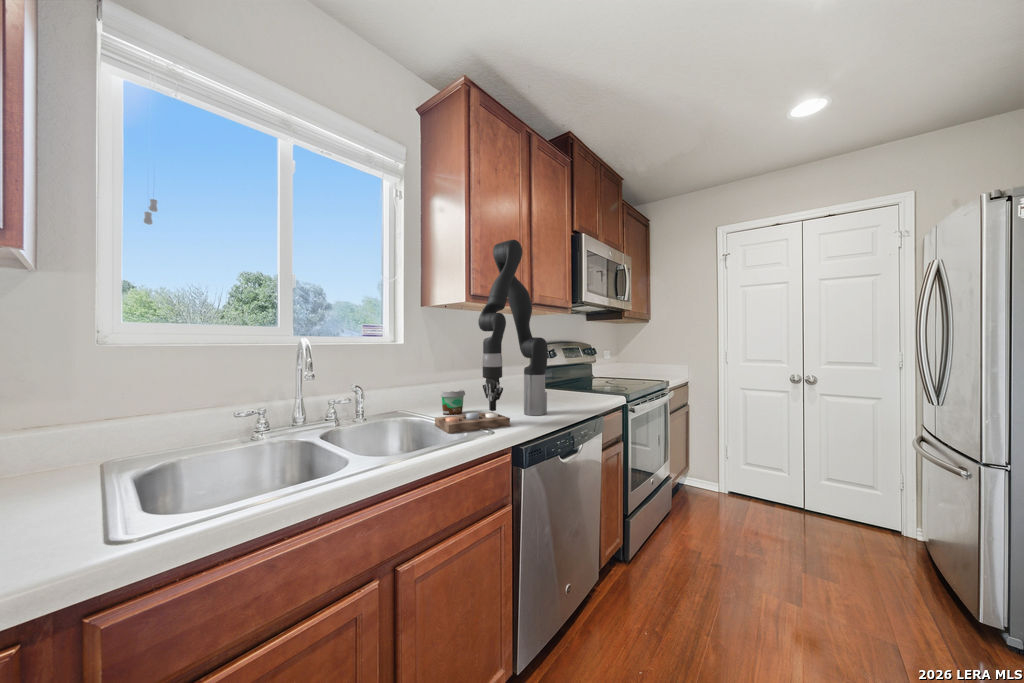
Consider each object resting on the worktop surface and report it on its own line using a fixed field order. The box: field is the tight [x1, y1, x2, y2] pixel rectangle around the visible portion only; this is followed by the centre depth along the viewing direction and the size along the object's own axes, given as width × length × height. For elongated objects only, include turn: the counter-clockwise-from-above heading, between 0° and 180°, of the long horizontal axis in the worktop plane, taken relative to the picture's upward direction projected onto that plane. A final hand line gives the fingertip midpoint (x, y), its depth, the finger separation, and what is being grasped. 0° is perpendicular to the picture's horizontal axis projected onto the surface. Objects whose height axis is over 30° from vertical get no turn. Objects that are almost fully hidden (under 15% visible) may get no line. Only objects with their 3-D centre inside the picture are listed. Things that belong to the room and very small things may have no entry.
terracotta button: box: [445, 416, 459, 422], centre depth 138 cm, size 5×5×3 cm
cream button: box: [485, 412, 499, 418], centre depth 146 cm, size 5×5×3 cm
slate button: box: [465, 412, 480, 420], centre depth 142 cm, size 5×5×3 cm
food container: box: [440, 388, 466, 416], centre depth 165 cm, size 12×6×10 cm, turn 143°
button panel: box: [434, 411, 511, 434], centre depth 142 cm, size 24×14×3 cm, turn 120°
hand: (492, 410), depth 146 cm, fingers closed
